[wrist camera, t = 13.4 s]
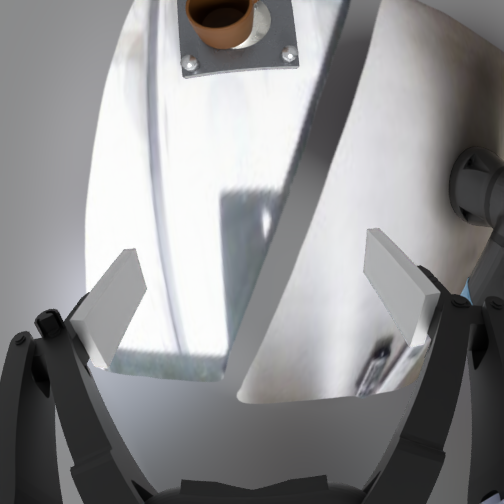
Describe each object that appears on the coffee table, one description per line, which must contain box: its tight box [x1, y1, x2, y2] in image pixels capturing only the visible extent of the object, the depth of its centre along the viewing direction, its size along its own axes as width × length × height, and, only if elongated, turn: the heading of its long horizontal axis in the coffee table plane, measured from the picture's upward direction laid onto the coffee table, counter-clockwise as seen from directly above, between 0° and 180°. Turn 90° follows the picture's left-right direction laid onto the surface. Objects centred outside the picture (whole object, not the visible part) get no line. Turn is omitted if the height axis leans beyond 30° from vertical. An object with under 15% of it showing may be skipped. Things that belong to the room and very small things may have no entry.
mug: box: [185, 0, 259, 49], centre depth 25 cm, size 12×8×9 cm, turn 128°
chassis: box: [177, 0, 299, 79], centre depth 29 cm, size 16×16×5 cm
